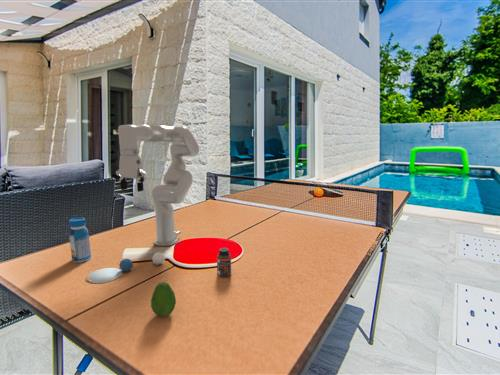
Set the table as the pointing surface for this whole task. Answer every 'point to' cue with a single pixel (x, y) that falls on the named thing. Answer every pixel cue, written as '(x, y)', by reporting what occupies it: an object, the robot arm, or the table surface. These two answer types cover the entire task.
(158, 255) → the cue ball
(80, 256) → the blue medicine bottle
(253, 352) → the table surface
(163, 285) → the avocado
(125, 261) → the object ball
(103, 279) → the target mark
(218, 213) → the table surface
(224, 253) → the supplement bottle
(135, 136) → the robot arm
